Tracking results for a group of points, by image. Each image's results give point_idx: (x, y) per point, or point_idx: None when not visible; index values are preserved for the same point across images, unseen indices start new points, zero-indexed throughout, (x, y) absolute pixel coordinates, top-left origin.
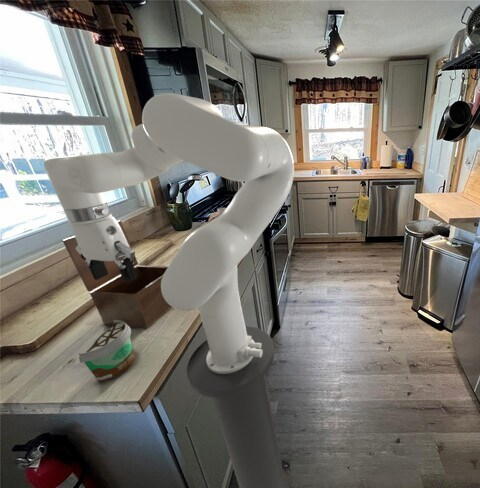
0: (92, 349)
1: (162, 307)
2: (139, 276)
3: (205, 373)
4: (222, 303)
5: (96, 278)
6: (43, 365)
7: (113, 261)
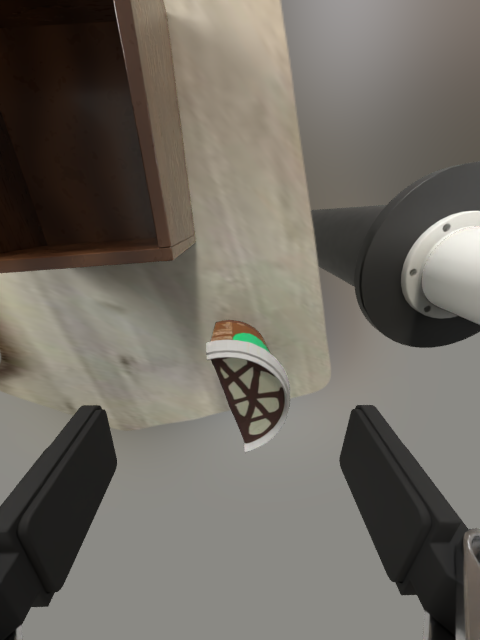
0: (251, 429)
1: (182, 159)
2: None
3: (411, 319)
4: None
5: (111, 473)
6: (83, 379)
7: None
